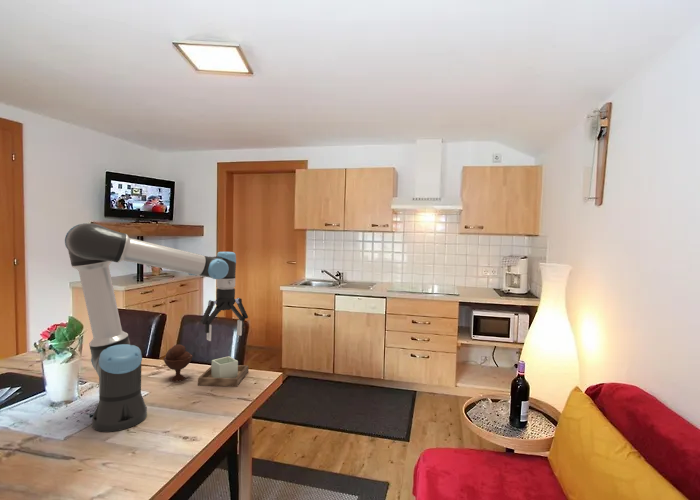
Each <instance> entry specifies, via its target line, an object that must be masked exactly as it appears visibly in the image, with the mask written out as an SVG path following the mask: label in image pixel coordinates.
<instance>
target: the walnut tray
mask: <svg viewBox="0 0 700 500" xmlns="http://www.w3.org/2000/svg"><path fill="white" fill-rule="evenodd" d="M211 370H212V365H211V366H210V367H208V368H207V369H206V370H205V371H204V372H203V373H202V374H200V375H199V377H198V378H197V386H199V385H200V386H203V387H204V386H205V387H207V386H208V387H233V388H234V387H235V388H237V387H238V386H239V385H240V384H241V382H242V381H244V378H245V377H246V376H247V375H248V374H249V365H243V364H242V365H241V364H240V365H239V364H238V376H237V377H236V378H213V377H212V376H211ZM200 386H199V387H200Z"/></svg>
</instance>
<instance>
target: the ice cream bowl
mask: <svg viewBox="0 0 700 500" xmlns="http://www.w3.org/2000/svg"><path fill="white" fill-rule="evenodd" d="M192 360H193V354H192V353H190V352H189V351H186V346H185V345H183V344H179V343H178V344H174V345H173V346H172V347H171V348H169V349H168V350H167V352H166V353H165V357H163V362H164V364H165V365H166V366H167V368H169V369H171V370H172V371H175V375H173V376H172V377H171V379H170V381H172V382H181V381H184V380H185V379H186V377H185V376H184V375H182V374H181V370H184V369H185V368H186V367H187V366H188V365H190V363H191V362H192ZM183 379H184V380H183ZM180 380H181V381H180Z"/></svg>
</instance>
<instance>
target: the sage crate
mask: <svg viewBox="0 0 700 500" xmlns="http://www.w3.org/2000/svg"><path fill="white" fill-rule="evenodd" d="M238 365H239V361H238V360H237V359H235V358H233V357H231V356H230V355H229V356H225V357H220V358H216V359H212V360H211V366H212V370H211V376H212V377H213V378H236V377H237V376H238Z"/></svg>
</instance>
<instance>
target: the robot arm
mask: <svg viewBox="0 0 700 500" xmlns="http://www.w3.org/2000/svg"><path fill="white" fill-rule="evenodd" d="M64 244H65V248H66V249H67V252H68V256H69V259H70V265H71V268H74V269H75V270H76V271H78V274H79V278H80V283H81V289H82V292H83V297H84V301H85V307H86V311H87V316H88V320H89V324H90V329H91V333H92V339H91V340H90V342H89V350H90V354H91V358H90V363H91V365H92V367H93V368H94V370H95V372H96V373H97V376H98V378H99V379H98V381H99V382H98V383H99V384H98V392H99V395H98V402H97V406H96V408H95V411H94V413H93V417H92V418H91V419H92V420H91V421H92V422H91V423H92V426H91V427H92V429H93V430H95V431H97V432H98V431H99V432H106V433H107V432H109V433H110V432H116V431H121V430H126V429H129V428H131V427H133V426H137V425H139V424H140V423H142V422H143V421H144V420H146V418H147V414H148V408H147V405H146V402H145V400H144V397H143V394H142V361H143V355H142V350H141V349H140V347H139V346H136V345H134V344H131V341H130V337H129V333H127V332H126V331H124V330H123V327H122V325H121V317H120V315H119V309H118V305H117V298H116V294H115V290H114V286H113V280H112V275H111V271H110V270H111V269H110V264H111V263H112V262H114V263H120V262H122V261H123V262H130V263H134V264H140V265H145V266H150V267H155V268H160V269H164V270H165V269H166V270H170V271H176V272H181V273H186V274H188V275H189V276H201V277H205V278H211V279H213V280H216V291H215V295H216V299H215V300H211V299H210V300H208V303H207V308H206V309H205V311H204V313H203V314H202V317H201V319H200V321H199V322H200V324H202V325H204V333H206V340H207V341H208V342H212V322H213V321H214V319H215V318H216V317H217V315H218V314H219V313H220V312H221V311H223V312H224V311H230V310H231V311H232V312H233V314H234V315H235V316H236V317H237V318H238V319H237V324H236V326H237V328H236V330H237V331H236V335H237V336H240V337H241V336H242V334H243V333H242V331H243V328H244V327H245V326H244V324H245V323H244V322H245V321H246V320H247V319H248V318H249V316H248V314H247V311H246V309H245V307H244V305H243V301H242V300H243V299H242V298H240V297H237V298H235V297H236V289H235V287H236V268H237V267H236V266H237V256H236V253H235V252H233V251H218V252H217V255H216V256H207V255H204V254H203V255H202V254H198V253H194V252H190V251H186V250H183V249H177V248H173V247H170V246H164V245H161V244H156V243H154V242H153V243H152V242H148V241H144V240H141V239H135V238H130V237H129V235H128V234H127V233H123V232H119V231H116V230H113V229H110V228H108V227H106V226H103V225H101V224H96V223H89V222H88V223H79V224H77V225H75V226H72V227H71V228H70V229H69V230H68V231H67V233H66V235H65V238H64ZM235 304H236V305H237V307H238V309H239V310H238V309H237V308H236V306H235ZM215 305H216V306H215ZM214 306H215V307H214ZM213 308H214V309H213ZM212 310H213V311H212ZM239 311H240V312H239Z"/></svg>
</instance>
